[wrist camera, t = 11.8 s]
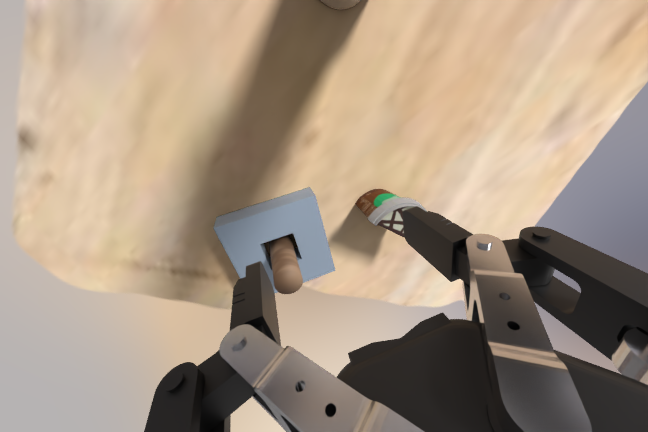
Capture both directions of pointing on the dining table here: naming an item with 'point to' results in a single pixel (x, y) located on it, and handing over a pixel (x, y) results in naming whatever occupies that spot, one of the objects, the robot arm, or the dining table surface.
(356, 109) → the dining table surface
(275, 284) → the walnut peg
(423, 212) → the robot arm
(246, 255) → the socket block
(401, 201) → the food container
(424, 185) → the dining table surface
